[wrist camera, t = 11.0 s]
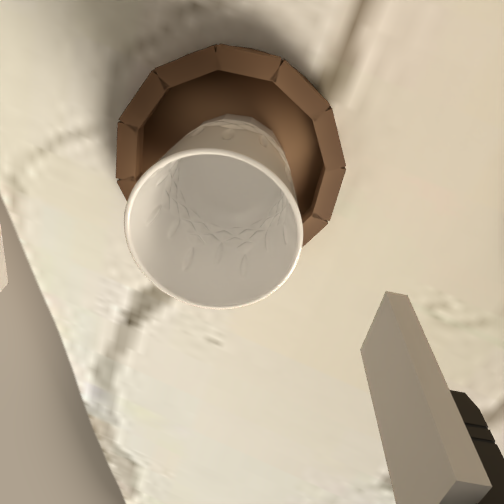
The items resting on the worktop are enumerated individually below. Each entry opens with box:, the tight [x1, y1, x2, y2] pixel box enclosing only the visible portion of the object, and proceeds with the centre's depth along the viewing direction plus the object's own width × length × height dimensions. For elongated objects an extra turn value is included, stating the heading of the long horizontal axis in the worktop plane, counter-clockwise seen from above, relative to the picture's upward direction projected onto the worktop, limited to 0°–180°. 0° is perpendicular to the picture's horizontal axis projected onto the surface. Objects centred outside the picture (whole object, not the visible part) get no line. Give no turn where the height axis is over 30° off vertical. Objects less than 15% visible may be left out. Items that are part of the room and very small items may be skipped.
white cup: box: [124, 114, 303, 309], centre depth 23 cm, size 8×8×10 cm
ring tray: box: [116, 44, 346, 247], centre depth 27 cm, size 14×14×2 cm
